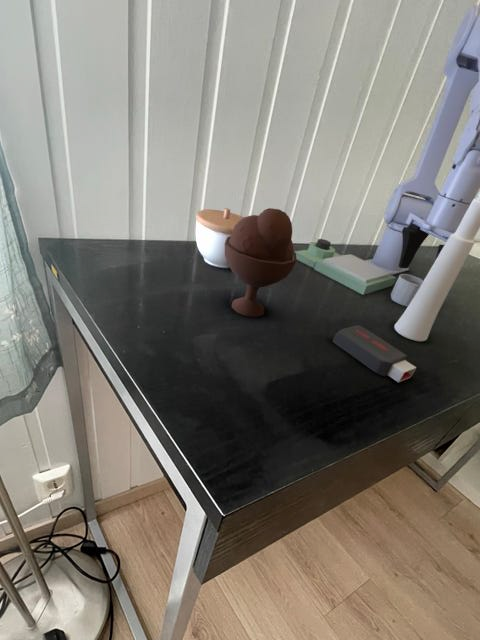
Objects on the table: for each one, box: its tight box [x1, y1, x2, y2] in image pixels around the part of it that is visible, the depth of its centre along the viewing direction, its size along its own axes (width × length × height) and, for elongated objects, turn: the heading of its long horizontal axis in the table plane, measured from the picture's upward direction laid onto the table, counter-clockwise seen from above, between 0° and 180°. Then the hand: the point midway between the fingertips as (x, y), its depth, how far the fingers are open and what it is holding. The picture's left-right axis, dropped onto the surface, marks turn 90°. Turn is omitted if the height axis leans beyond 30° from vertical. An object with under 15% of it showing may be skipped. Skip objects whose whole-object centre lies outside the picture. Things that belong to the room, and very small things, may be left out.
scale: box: [313, 253, 396, 296], centre depth 83 cm, size 13×13×3 cm
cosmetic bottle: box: [393, 191, 480, 342], centre depth 60 cm, size 6×6×22 cm
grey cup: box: [390, 273, 424, 308], centre depth 77 cm, size 6×6×4 cm
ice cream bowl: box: [225, 207, 298, 318], centre depth 57 cm, size 11×11×15 cm
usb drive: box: [332, 324, 417, 383], centre depth 56 cm, size 5×12×3 cm, turn 36°
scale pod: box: [294, 241, 343, 269], centre depth 87 cm, size 12×6×3 cm, turn 134°
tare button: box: [316, 238, 331, 250], centre depth 85 cm, size 3×3×2 cm
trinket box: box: [195, 207, 245, 269], centre depth 71 cm, size 11×11×9 cm
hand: (415, 275), depth 75 cm, fingers open, 7 cm apart
